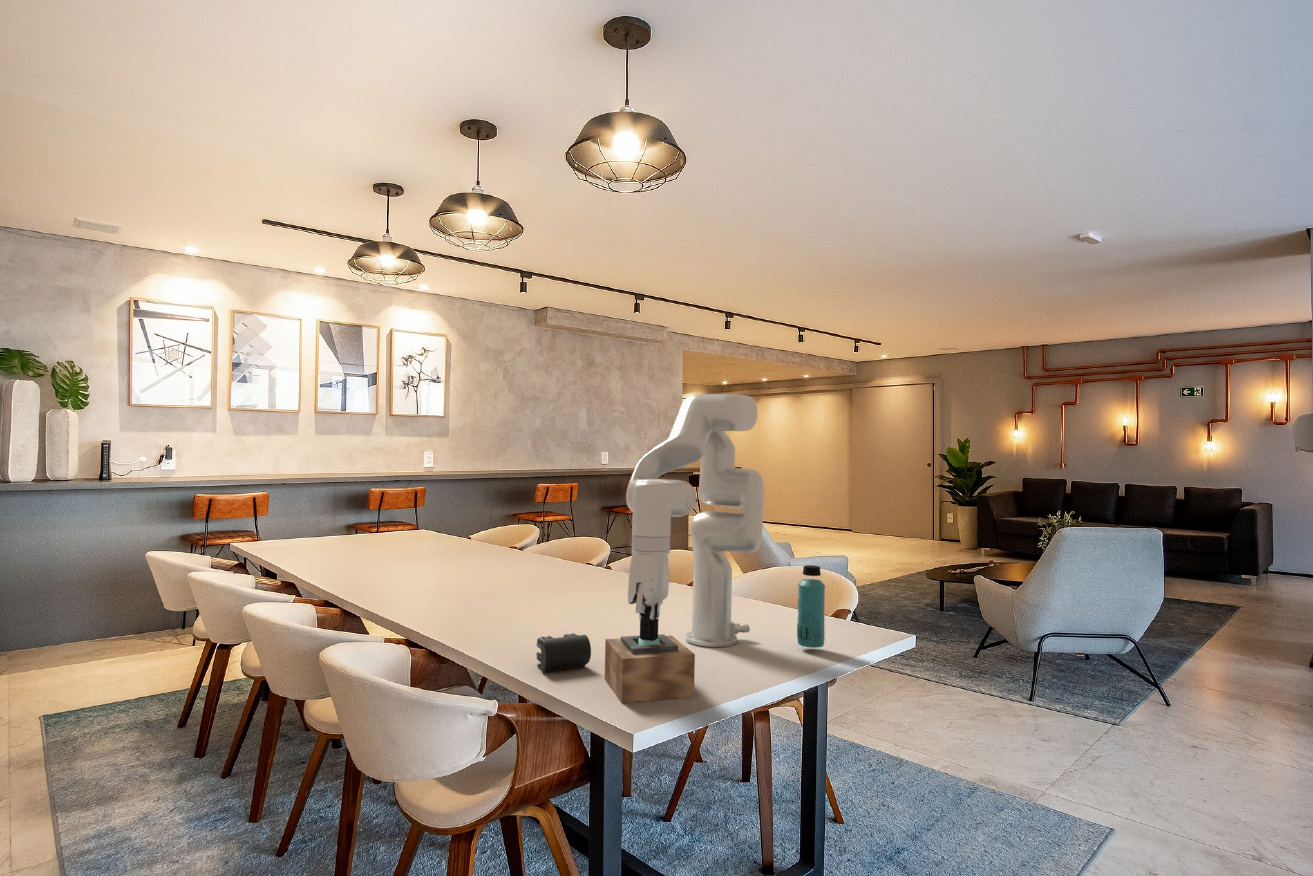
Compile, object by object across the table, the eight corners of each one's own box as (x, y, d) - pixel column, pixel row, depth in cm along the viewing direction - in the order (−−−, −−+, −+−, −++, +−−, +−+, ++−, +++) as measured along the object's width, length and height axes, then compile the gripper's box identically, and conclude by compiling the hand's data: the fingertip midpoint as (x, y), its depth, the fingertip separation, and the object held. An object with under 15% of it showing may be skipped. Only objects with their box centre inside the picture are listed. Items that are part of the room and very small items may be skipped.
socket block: (670, 674, 146) (671, 630, 146) (693, 697, 133) (695, 649, 133) (604, 679, 142) (605, 634, 142) (621, 703, 129) (622, 653, 129)
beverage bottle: (827, 649, 168) (828, 564, 169) (821, 656, 162) (823, 568, 163) (800, 645, 171) (801, 562, 172) (793, 652, 165) (795, 566, 166)
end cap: (545, 676, 143) (546, 643, 143) (534, 667, 149) (535, 634, 149) (591, 670, 148) (591, 638, 148) (578, 661, 154) (579, 630, 154)
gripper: (648, 539, 146) (646, 628, 146) (616, 547, 133) (614, 646, 132) (682, 542, 143) (680, 633, 143) (653, 550, 130) (651, 651, 129)
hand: (648, 639), depth 138 cm, fingers closed
